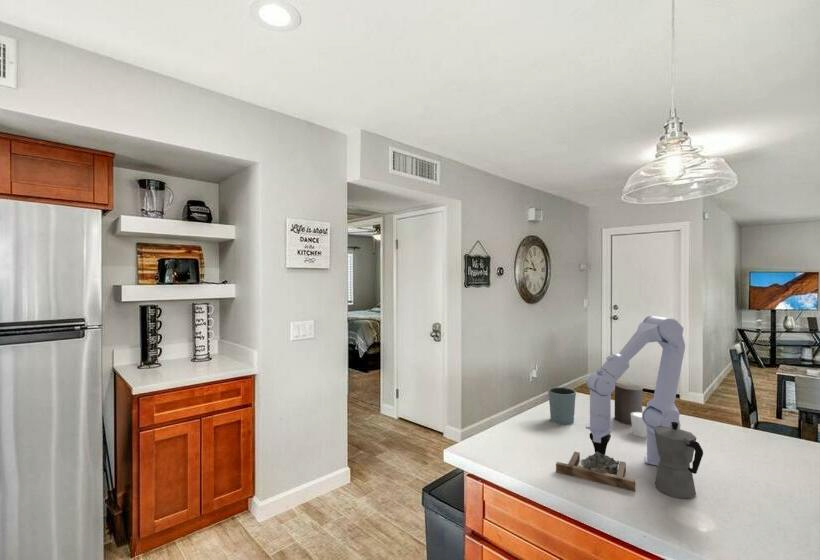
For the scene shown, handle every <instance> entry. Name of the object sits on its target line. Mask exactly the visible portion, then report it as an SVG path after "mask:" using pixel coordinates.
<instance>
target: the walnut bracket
mask: <svg viewBox="0 0 820 560" xmlns="http://www.w3.org/2000/svg"><path fill="white" fill-rule="evenodd" d="M580 455H581V454H580V451H574V452H573V453H572V455H571V458H570V460H569V462H567V463H564V462H559V461H556V462H555V463H556V464H555V473H557V474H560V475H561V474H562V475H565V476H566V475H567V476H570V477H574V478H577V479H582V480H585V481H589V482H595V483H599V484H602V485H607V486H610V487H615V488H618V489H619V488H620V489H623V490H627V491H631V492H636V479H635V478H631V477H626V469H627V467H626V466H627V464H626V462H625V461H620V460H619V465H618V467H617V469H618V471H617V473H616V474H614V473H613V474H609V473H604V472H600V471H596V470H591V469H587V468H583V466H582V467H581V466H578V465H579V463H580V462H581V460H580V459H581V457H580Z"/></svg>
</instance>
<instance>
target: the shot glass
mask: <svg viewBox="0 0 820 560" xmlns="http://www.w3.org/2000/svg"><path fill="white" fill-rule="evenodd" d="M642 413H643V411H642V412H632V413H631V423H632V425H631V429H632V430H631V432H632V435H634V436H637V437H641V438H647V428H646V424H645V423H644V421H643V419H642Z"/></svg>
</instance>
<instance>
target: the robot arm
mask: <svg viewBox="0 0 820 560" xmlns="http://www.w3.org/2000/svg"><path fill="white" fill-rule="evenodd" d="M684 328H685V327H683V325H682V324H681V323H680V322H679V321H678V320H676V319H675V318H671V317H662V316H656V315H648V316H646V317H645V318H644V319H643V320H642V322H640V323H639V324H638V326H637V329H636V331H635V333H634V334H633V335H632V336H631V337H630V339H629V340H628V341H627V342H626V344H625V345H624V346H623V348H622V349H621V350H620V351H619V352H618V353H613V354H611V355H608V356H607V357H606V361H605V362H604V363H603V364H602V365H601V366H600V367H599V368H597V369H596V372H591V373H590V374H589V376H588V377H587V380H585V383H586V387H587V388H588V389H589V424H586V425H585V429H587V430H589V431H590V433H589V434H588V435H589V436H588V437H589V439H590V441H591V443H592V445H593V450H594V453H596V452H597V451H598V452H599V453H601V454H602V455H604V454H605V455H606V453H607V447H608V444H609V442H610V441H611V437H612V435H611V433H612V427H611V426H612V425H611V423H612V422H611V421H612V418H611V414H612V413H611V412H612V411H611V408H612V407H611V406H612V404H611V395H612V393H613V392H615V384H616V383H617V381H618V380H619V379H620V378H621V377H622V376H623V375H624V374H625V373H626V371H627V370H628V369H629V368H630V361H631V360H632V359H633V358H634V357H635V356H636V355H637V354H638V353H639V352H640V351H641V350H642V349H643V348H644V347H645V346H646V345H648V344H649V343H656V342H657V343H658V344H659V345H660V346H661V348H662V352H661V356H660V357H661V358H660V362H659V367H658V371H657V376H656V377H657V378H656V382H655V389H654V393H653V397H652V398H650V399H649V401H647V403H646V407H645V408H644V410H642V412H643V413H642V419H643V421H644V423H645V424H646V428H647V437H646V452H645V456H644V464H647V465H652V466H657V467H658V463H659V462H660V456H659V455H658V450H657V444H656V438H655V432H654V429H657V427H656V426H665V427H669V428H672V424H671V422H677V423H678V429H681V421H680V415H681V414H680V412H679V409H678V408H677V406H676V403H675V402H676V398H677V392H678V387H679V381H680V376H681V371H682V365H683V359H684V354H685V349H686V344H685V339H684V336H683V334H684Z"/></svg>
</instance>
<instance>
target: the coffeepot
mask: <svg viewBox="0 0 820 560" xmlns="http://www.w3.org/2000/svg"><path fill="white" fill-rule="evenodd" d="M671 424H672V428H669V427H665V426H656V427H657V429H654V432H655V438H656V444H657V450H658V455H659V456H660V462H659V463H658V466H657V468H656V469H657V470H656V474H655V479H654V485H655V488H656V489H657V490H658V491H659V492H660V493H662V494H664V495H666V496H668V497H671V498H675V499H679V500H680V499H681V500H688V499H693V498H694V497H695V496H697V492H696V487H695V481H694V477H693V474H694V475H696V474H697V473H698V469H699V468H700V464H701V461H702V458H703V455H704V451H703V448H702V447H701V445H700V443H699V442H698V441H697V437H696V435H694V434H693V433H692V432H690V431H687V430H684V429H682V428H680V429H678V423H677V422H671ZM693 457H694V458H693ZM691 463H692V464H691ZM691 466H692V467H691Z"/></svg>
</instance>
